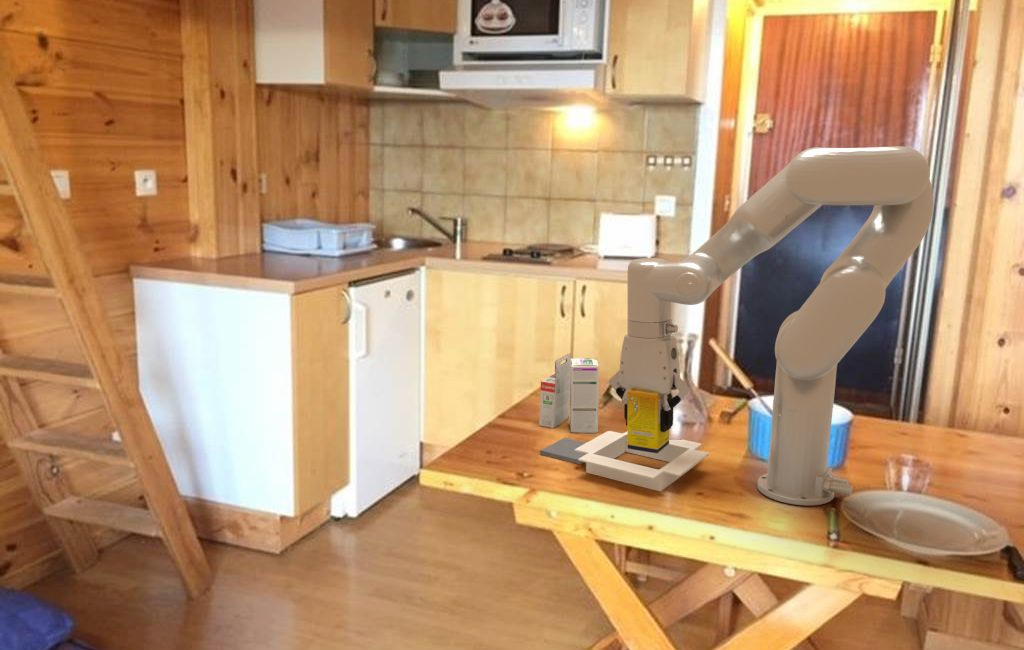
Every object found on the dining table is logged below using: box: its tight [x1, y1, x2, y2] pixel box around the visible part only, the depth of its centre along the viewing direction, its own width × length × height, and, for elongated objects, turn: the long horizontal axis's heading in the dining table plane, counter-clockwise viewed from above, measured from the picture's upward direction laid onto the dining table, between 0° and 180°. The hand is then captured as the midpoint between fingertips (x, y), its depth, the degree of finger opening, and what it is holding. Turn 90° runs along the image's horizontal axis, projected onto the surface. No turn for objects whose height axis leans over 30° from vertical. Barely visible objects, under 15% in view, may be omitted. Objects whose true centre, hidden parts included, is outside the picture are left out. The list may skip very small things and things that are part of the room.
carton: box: [574, 430, 710, 492], centre depth 155 cm, size 21×21×4 cm
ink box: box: [538, 352, 572, 429], centre depth 180 cm, size 4×8×15 cm, turn 152°
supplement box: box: [626, 389, 670, 453], centre depth 153 cm, size 6×6×11 cm
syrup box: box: [569, 357, 600, 434], centre depth 176 cm, size 6×6×14 cm
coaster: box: [539, 437, 587, 465], centre depth 164 cm, size 9×9×1 cm
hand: (648, 426), depth 154 cm, fingers closed on supplement box, 6 cm apart
